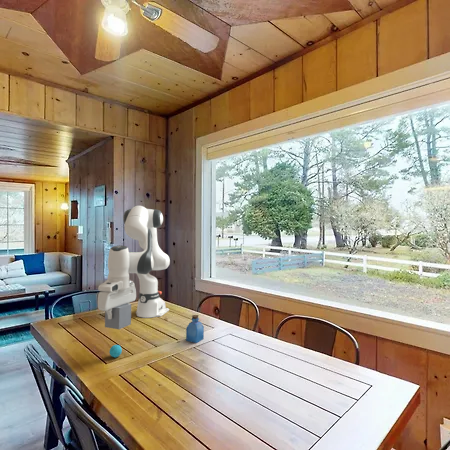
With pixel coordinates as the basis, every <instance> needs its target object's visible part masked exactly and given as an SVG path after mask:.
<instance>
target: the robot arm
mask: <svg viewBox="0 0 450 450" xmlns="http://www.w3.org/2000/svg"><path fill="white" fill-rule="evenodd" d="M122 217H123V224H124V227H123V228H124V232H125V234H126V235H127V236H128V237H129V238H131V239H132V240H135V241H138V246H139V247H140V248H141V249H143V251H139V252H137V251H135V252H134V251H133V252H132V251H131V252H130V251H129V247H128V246H127V245H114V246H112V247H110V248H109V252H108V256H107V257H108V258H107V259H108V260H107V269H108V274H107V279H106V280H105V281H104V282H103V283H100V284H99V285H98V288H97V291H99V292H98V294H97V308H98V310H99V311H103V312H105V311H106V313H107V314H108V319H113V318H114V317H113V316H114V314H112V312H111V311H112V308H115V307H118V306H121V305H123V304H131V303H132V302H135V301H136V299H137V290H136V285H135V282H134V281H133V280H130V274H136V276H137V278H138V282H139V292H138V300H137V306H136V307H137V308H136V311H135V314H136V316H137V317H139V318H144V319H145V318H146V319H147V318H157V317H163V315H165V314H166V313H168V312H169V311H170V308H168V307H166V302H165V300H163V298H161V297H160V295H162V293H163V292H162V291H160V290H158V289H159V287H158V286H159V281H158V278H157V277H156V276H154V275H152V274H151V273H150V272H152V271H162V270H166V269H168V267H169V266H170V264H171V260H170V259H171V258H170V256H169V255H168V254H167V253H165V252H164V251H163V249H161V247H160V246H159V243H158V231H157V230H158V229H157V228H160V227H161V226H162V224H163V222H164V216H163V212H162V211H161V210H159V209H151V208H146V207H145V206H143V205H136V206H133V207H132V208H130V209H126V210H125V211H124V213H123V216H122Z"/></svg>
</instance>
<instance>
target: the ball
mask: <svg viewBox="0 0 450 450" xmlns="http://www.w3.org/2000/svg"><path fill="white" fill-rule="evenodd" d="M122 350H123V349H122V347H121V345H119V344H114V345H112V346H111V347H110V349H109V355H110V356H111V357H112V358H117V357H120V356H121V355H122V352H123V351H122Z"/></svg>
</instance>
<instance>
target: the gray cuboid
mask: <svg viewBox="0 0 450 450" xmlns="http://www.w3.org/2000/svg"><path fill="white" fill-rule="evenodd" d="M111 312H112V314H114V316H113V317H114V318H113V319H108V314H107V313H106V311H104V313H105V314H104V328H108V329H114V330H121V329H124V328H126V327H128V326H131V324H132V304H131V303H130V304H123V305H121V306H118V307H115V308H112V311H111Z"/></svg>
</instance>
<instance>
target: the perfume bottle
mask: <svg viewBox="0 0 450 450" xmlns="http://www.w3.org/2000/svg"><path fill="white" fill-rule="evenodd" d="M191 317H192V318H191V322H189V323H188V325H187V326H186V331H185V334H186V335H185V336H186V339H185V340H186V342H191V343H195V344H198V343H199V342H201V341H203V340H205V339H204V334H205V332H204V331H205V329H204V328H205V327H204V325H203V323H202V322H201V321H199V319H200V318H199V315H198V314H192V316H191Z"/></svg>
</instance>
